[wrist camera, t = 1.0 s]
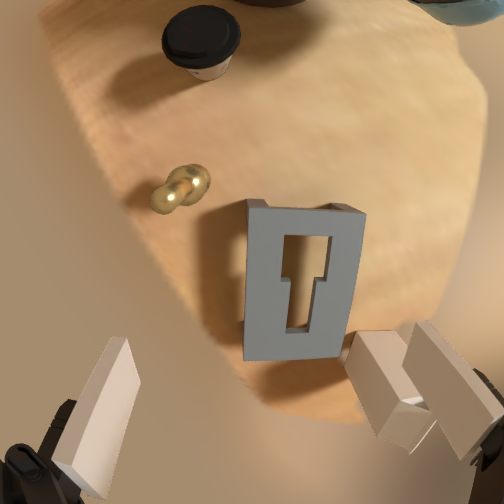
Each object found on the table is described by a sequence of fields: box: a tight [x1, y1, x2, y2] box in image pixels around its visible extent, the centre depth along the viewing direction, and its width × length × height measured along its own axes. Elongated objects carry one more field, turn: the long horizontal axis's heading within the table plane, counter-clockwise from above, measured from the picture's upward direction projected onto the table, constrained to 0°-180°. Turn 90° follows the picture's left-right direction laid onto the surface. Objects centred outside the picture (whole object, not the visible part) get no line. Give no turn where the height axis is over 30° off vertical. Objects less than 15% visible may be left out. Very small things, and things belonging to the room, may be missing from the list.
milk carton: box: [344, 331, 436, 454], centre depth 33 cm, size 7×7×19 cm
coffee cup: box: [161, 5, 241, 81], centre depth 23 cm, size 7×7×10 cm
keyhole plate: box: [242, 199, 366, 361], centre depth 33 cm, size 18×12×6 cm, turn 178°
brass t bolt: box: [150, 164, 211, 215], centre depth 25 cm, size 4×4×15 cm
